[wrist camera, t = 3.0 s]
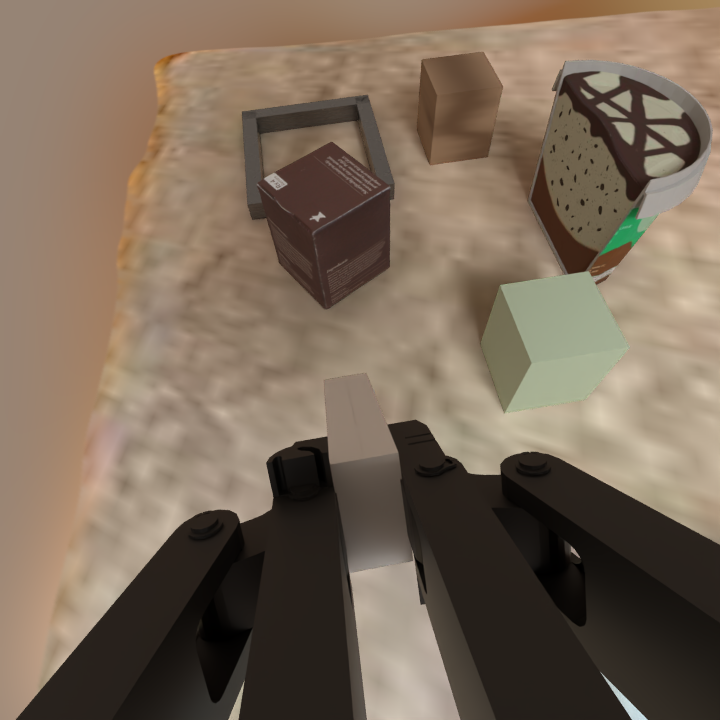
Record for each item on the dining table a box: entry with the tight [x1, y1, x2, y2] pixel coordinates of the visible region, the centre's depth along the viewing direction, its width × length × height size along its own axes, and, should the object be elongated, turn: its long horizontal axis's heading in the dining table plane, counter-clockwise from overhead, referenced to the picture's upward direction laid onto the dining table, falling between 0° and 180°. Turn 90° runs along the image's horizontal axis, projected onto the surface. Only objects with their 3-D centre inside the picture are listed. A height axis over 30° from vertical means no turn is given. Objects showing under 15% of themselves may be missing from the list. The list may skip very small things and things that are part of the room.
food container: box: [528, 60, 713, 285], centre depth 31 cm, size 12×6×10 cm, turn 9°
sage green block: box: [480, 271, 630, 413], centre depth 27 cm, size 5×5×6 cm
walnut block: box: [417, 52, 503, 165], centre depth 39 cm, size 5×5×6 cm
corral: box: [242, 95, 394, 220], centre depth 40 cm, size 11×12×2 cm
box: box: [256, 142, 390, 309], centre depth 32 cm, size 6×6×7 cm
